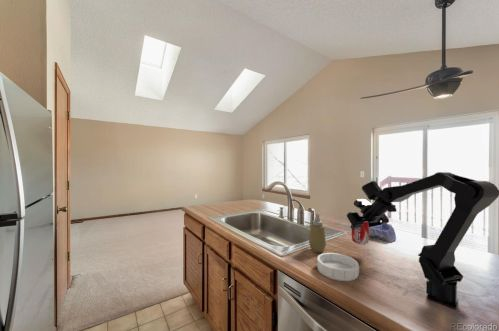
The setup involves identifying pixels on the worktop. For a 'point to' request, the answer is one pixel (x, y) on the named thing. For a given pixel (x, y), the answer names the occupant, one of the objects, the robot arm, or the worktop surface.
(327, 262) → the bowl
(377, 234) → the mineral
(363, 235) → the soda can
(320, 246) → the squeeze bottle
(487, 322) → the worktop surface
